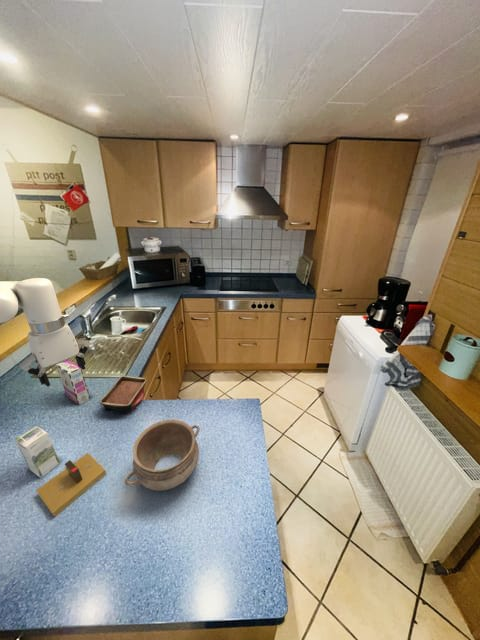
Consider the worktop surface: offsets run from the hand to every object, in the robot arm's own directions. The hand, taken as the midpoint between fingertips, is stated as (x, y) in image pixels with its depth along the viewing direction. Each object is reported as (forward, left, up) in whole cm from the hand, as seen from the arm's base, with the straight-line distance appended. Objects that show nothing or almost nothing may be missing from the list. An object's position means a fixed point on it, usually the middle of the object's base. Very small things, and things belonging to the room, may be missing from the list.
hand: (65, 375), depth 75 cm
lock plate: (-10, -12, -28) cm, 32 cm away
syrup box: (-12, +1, -28) cm, 31 cm away
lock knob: (-9, -12, -25) cm, 29 cm away
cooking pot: (+9, -31, -28) cm, 43 cm away
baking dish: (+19, +6, -28) cm, 35 cm away
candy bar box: (+9, +25, -28) cm, 39 cm away
